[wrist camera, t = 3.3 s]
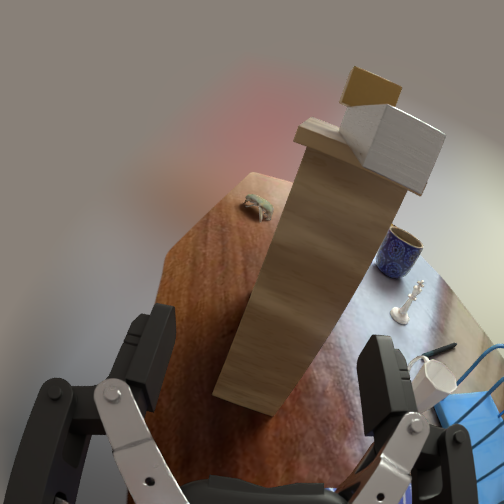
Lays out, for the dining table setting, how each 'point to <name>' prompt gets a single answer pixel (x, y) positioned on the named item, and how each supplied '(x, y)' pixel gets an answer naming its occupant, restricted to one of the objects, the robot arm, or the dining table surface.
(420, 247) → the planter
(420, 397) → the cup
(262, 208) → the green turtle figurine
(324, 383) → the dining table surface
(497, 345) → the file sorter
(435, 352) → the pen
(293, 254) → the stand
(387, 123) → the mallet
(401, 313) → the chess piece
